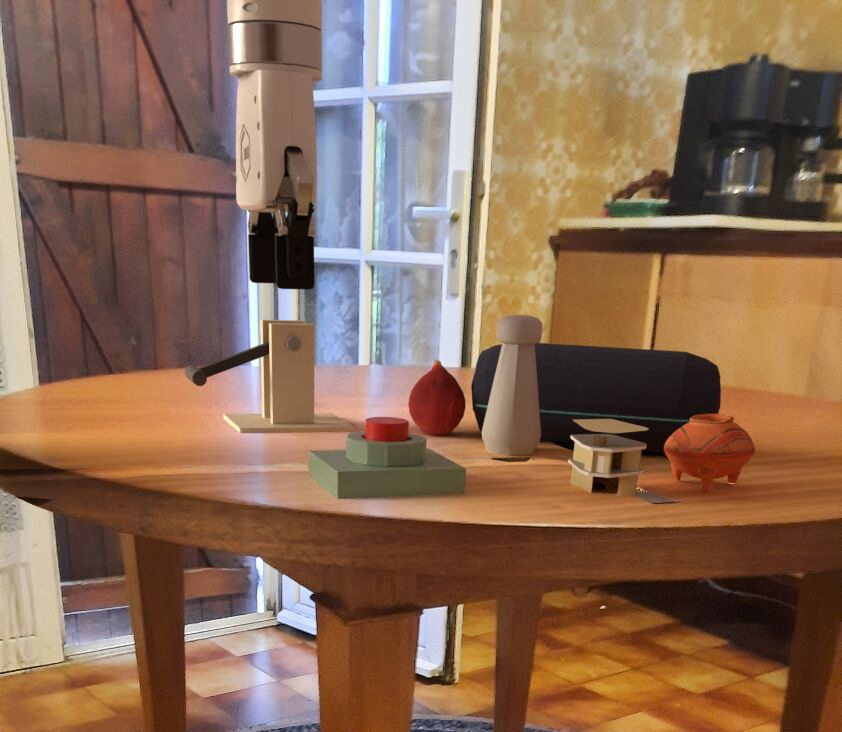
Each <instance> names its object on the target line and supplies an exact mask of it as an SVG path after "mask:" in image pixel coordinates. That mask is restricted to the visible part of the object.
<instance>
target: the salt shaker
mask: <svg viewBox="0 0 842 732" xmlns="http://www.w3.org/2000/svg"><path fill="white" fill-rule="evenodd" d="M542 336H543V322H542V321H541V320H540V318H538V317H536V316H534V315H533V316H532V315H528V314H527V315H524V314H506V315H504V316H501V318H500V319H499V320H498V321H497V326H496V340H497V341H498V342H500V343H501V344H502V347H501V352H500V356H499V360H498V364H497V369H496V373H495V377H494V381H493V386H492V390H491V394H490V398H489V403H488V407H487V411H486V416H485V420H484V424H483V428H482V432H481V439H482V441H483V444H484V447H485V449H486V451H487V452H489V453H490V454H495V455H501V456H508V457H490V459H491V460H493V461H499V462H505V463H527V462H528V461H529V460H531V459H532V456H530V455H533V454H534V452H535V451H536V449H537V447H538V445H539V443H540V442H541V441H540V438H541V426H540V412H539V398H538V384H537V370H536V356H535V344H537V343H541V340H542V338H543V337H542ZM510 456H511V457H510ZM512 456H513V457H512Z"/></svg>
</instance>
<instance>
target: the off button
mask: <svg viewBox="0 0 842 732" xmlns="http://www.w3.org/2000/svg"><path fill="white" fill-rule="evenodd" d="M364 423H365V424H364V425H365V426H364V431H365V439H368V440H373V441H384V442H402V441H408V433H409V431H410V429H409V427H410V420H408V419H405V418H401V417H394V416H373V417H367V418H365V421H364Z"/></svg>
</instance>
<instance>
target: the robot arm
mask: <svg viewBox="0 0 842 732" xmlns="http://www.w3.org/2000/svg"><path fill="white" fill-rule="evenodd" d="M322 10H323V9H322V0H226V11H227V13H226V14H227V15H226V16H227V39H228V40H227V43H228V65H229V76H231V77H233V78H236V79H238V81H237V82H238V83H237V94H236V113H235V115H236V118H235V126H236V127H235V197H236V198H235V199H236V200H235V201H236V203H237V205H238V207H239V208H240V209H241V210H243V211H248V213H249V214H248V220H247V221H248V222H247V229H248V230H247V231H248V234H247V245H248V274H249V275H248V276H249V281H250V282H251V283H253V284H275V285H276V287H277V288H278V289H280V290H312V289H314V288H315V237H314V235H315V223H314V219H313V214H314V213H315V208H314V206H315V203H316V198H317V182H318V181H317V178H318V177H317V176H318V175H317V174H318V169H317V166H318V164H317V163H318V162H317V161H318V159H317V133H316V132H317V130H316V112H315V111H316V109H315V97H314V96H315V95H314V86H313V85H314V83H318V82H321V81H322V80H323V33H322V27H323V26H322V24H323V23H322V21H323V20H322V19H323V17H322V16H323V15H322V14H323V13H322ZM286 213H287V214H286Z"/></svg>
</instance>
